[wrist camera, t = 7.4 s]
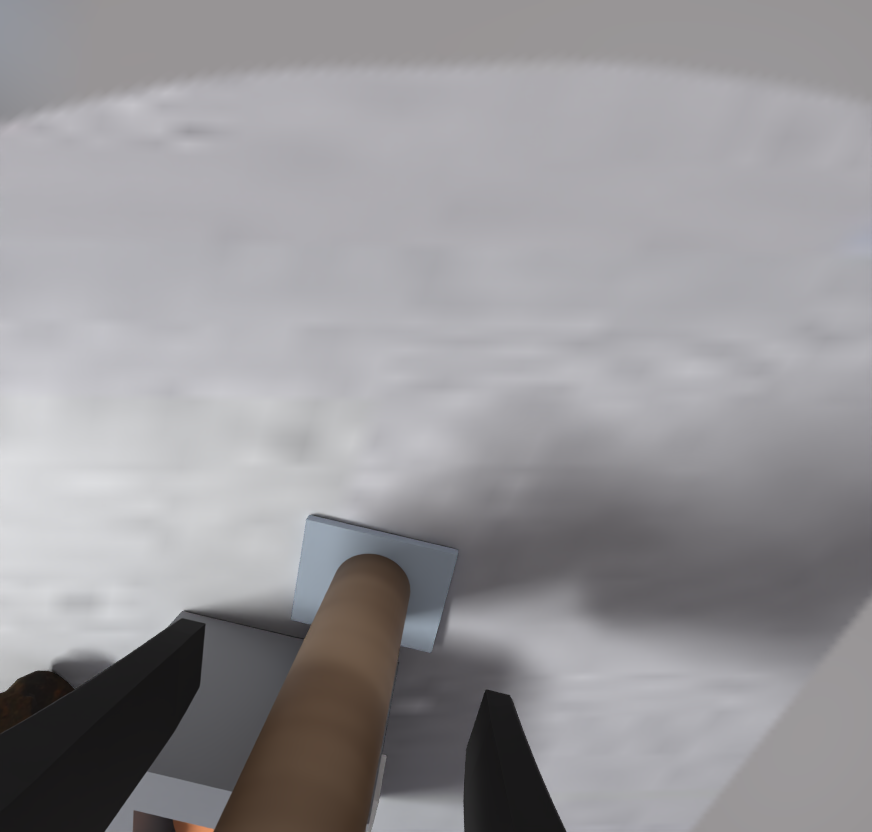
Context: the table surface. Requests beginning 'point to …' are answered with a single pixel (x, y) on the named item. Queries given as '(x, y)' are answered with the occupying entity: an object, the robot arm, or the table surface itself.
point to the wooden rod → (328, 711)
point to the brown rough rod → (30, 697)
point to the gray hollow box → (218, 731)
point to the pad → (418, 559)
